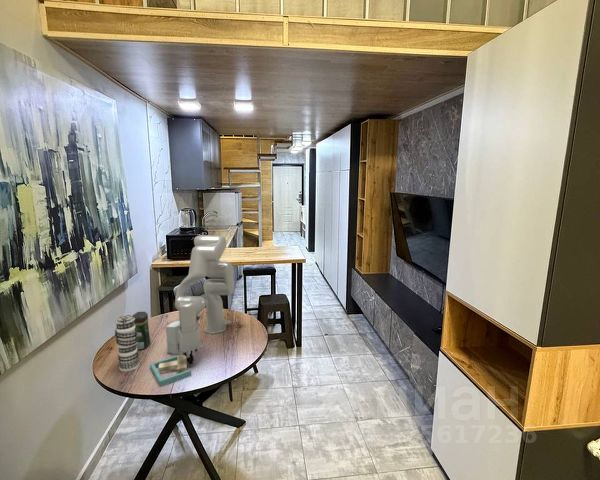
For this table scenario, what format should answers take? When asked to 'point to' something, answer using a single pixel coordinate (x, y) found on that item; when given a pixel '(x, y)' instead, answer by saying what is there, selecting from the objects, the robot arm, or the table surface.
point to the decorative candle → (127, 343)
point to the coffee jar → (142, 330)
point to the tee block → (174, 365)
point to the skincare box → (172, 337)
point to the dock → (172, 378)
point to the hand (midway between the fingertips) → (190, 363)
